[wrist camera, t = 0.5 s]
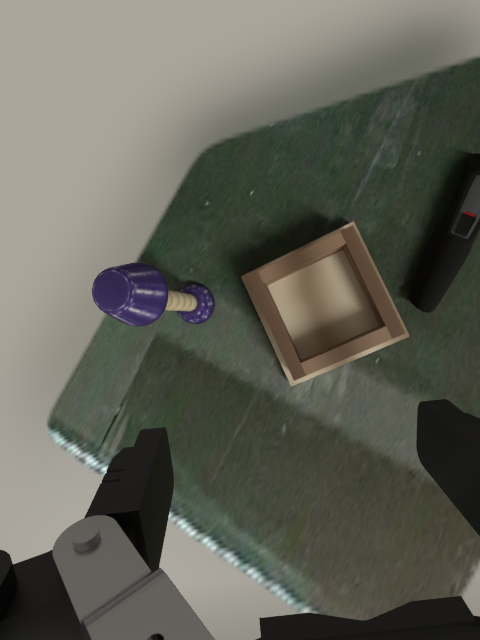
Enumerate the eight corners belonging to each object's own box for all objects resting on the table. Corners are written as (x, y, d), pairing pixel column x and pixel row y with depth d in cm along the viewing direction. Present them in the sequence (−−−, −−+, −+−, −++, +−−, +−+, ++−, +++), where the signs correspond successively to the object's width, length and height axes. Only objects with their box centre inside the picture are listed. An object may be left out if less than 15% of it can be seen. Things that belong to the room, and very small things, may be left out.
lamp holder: (351, 225, 37) (357, 212, 33) (405, 335, 36) (419, 338, 32) (243, 277, 39) (235, 272, 35) (291, 384, 38) (289, 392, 34)
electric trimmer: (394, 302, 37) (402, 301, 34) (469, 154, 36) (484, 139, 33) (431, 319, 37) (443, 319, 33) (509, 168, 35) (528, 154, 32)
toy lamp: (174, 327, 41) (83, 332, 24) (169, 284, 41) (74, 260, 24) (217, 321, 40) (153, 322, 23) (211, 277, 40) (144, 248, 24)
